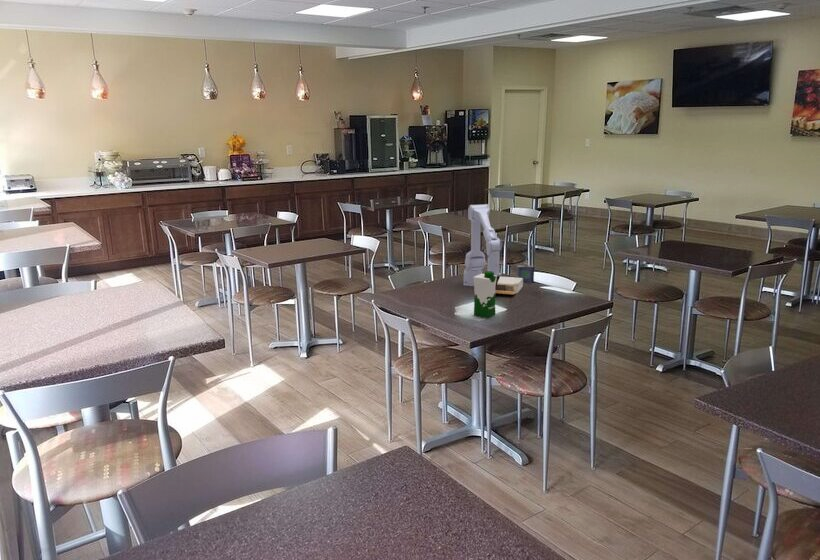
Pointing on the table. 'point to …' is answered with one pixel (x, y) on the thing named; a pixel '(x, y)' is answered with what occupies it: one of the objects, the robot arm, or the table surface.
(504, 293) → the door
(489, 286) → the milk carton
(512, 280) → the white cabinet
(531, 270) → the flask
